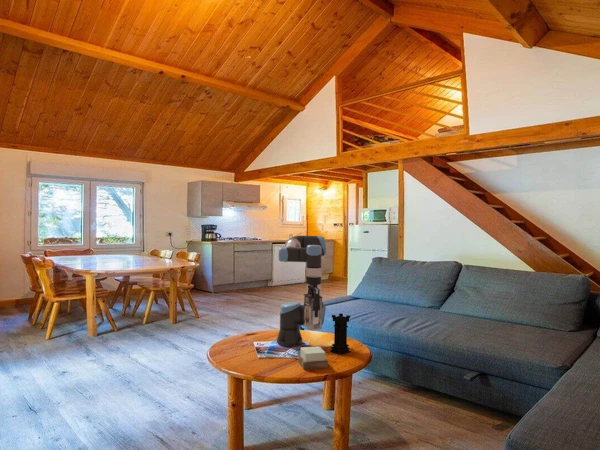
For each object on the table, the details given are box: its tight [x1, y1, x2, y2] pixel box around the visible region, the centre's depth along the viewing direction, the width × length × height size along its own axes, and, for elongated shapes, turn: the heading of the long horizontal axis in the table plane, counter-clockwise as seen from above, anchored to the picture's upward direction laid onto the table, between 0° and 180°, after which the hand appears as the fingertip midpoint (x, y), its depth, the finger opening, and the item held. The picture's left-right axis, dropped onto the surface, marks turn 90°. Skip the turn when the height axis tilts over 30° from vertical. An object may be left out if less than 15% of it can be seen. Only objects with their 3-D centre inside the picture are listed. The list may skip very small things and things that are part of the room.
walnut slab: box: [297, 354, 329, 371], centre depth 203 cm, size 12×12×4 cm
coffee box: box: [303, 293, 323, 331], centre depth 203 cm, size 9×6×16 cm
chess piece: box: [329, 312, 352, 356], centre depth 224 cm, size 8×8×20 cm
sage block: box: [299, 346, 326, 362], centre depth 203 cm, size 10×10×4 cm
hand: (312, 321), depth 203 cm, fingers closed on coffee box, 9 cm apart
